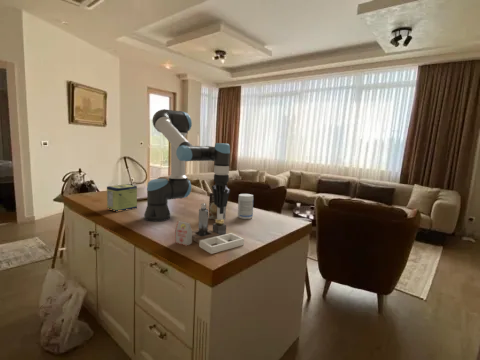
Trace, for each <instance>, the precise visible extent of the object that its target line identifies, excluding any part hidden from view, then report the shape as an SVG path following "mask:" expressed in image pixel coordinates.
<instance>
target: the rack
mask: <svg viewBox="0 0 480 360" xmlns="http://www.w3.org/2000/svg"><path fill="white" fill-rule="evenodd" d="M244 245H245V238H243V237H241V236H239V235H237V234H235V233H234V232H230V233H226V234H225V235H220V236H216V237H212V238H208V239H203V240H199V243H198V246H199V248H201V249H202V250H204V251H205V252H207V253H209V254H210V255H213V254H215V253H220V252H224V251H227V250H230V249H233V248H237V247H241V246H244Z"/></svg>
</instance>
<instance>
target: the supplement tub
mask: <svg viewBox="0 0 480 360" xmlns="http://www.w3.org/2000/svg"><path fill="white" fill-rule="evenodd" d="M237 201H238V202H237V204H238V205H237V218H239V219H241V220H250V219H252V218H253V215H254V214H253V213H254V194H252V193H251V194H250V193H240V194H238V200H237Z"/></svg>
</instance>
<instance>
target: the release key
mask: <svg viewBox="0 0 480 360" xmlns="http://www.w3.org/2000/svg"><path fill="white" fill-rule="evenodd" d="M214 221H215V223H214V224H217V225H222V224H225V219H222V220H217V219H215V220H214Z"/></svg>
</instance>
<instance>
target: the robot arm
mask: <svg viewBox="0 0 480 360" xmlns="http://www.w3.org/2000/svg"><path fill="white" fill-rule="evenodd" d="M151 121H152V125H153V127H154V129H155V130H156V131H157V132H159V133H161V134H162V135H163V136H164V137H165V139H166V140H167V142H169V144H170V168H171V169H170V175H169V176H168V179H167V178H154V179H152V180H149V181H148V182H147V187H146V194H147V199H146V200H147V201H146V202H147V204H146V205H147V206H146V209H145V212H144V214H143V215H144V217H143V218H144V219H143V220H145V221H147V222H162V221H163V222H164V221H167V220H170V219H171V212H170V208H169V206H168V203H169V202H168V201H170V200H176V199H184V198H187V197H188V196H190V194H191V192H192V183H191V180H189V178H188V176H187V175H186V162H200V161H201V162H207V161H208V162H209V161H210V162H214V164H213V166H214V167H213V173H214V174H213V182H215V183H214V185H212V186H211V188H212V193H213V196H214V204H215V205H216V206H217V220H222V219H223V211H224V207H226V208H227V206H228V201H229V197H230V196H229V195H230V193H231V189H230V188H228V182H229V180H230V177H229V176H230V175H229V174H230V158H231V157H230V155H231V145H230V144H229V143H226V142H225V143H223V142H222V143H221V142H216V143H215V144H214V146H210V145H204V146H203V145H193V144H191V142H190V141H189V140H188V139H187V138H186V136H187V135H188V134H189V131H191V129H192V125H193V122H192V118H191V116H190V114H189V113H188V112H187V111H186V112H185V111H181V110H173V109H165V108H164V109H160V110H158V111H156V112H155V113H154V115H153V116H152V120H151Z"/></svg>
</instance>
